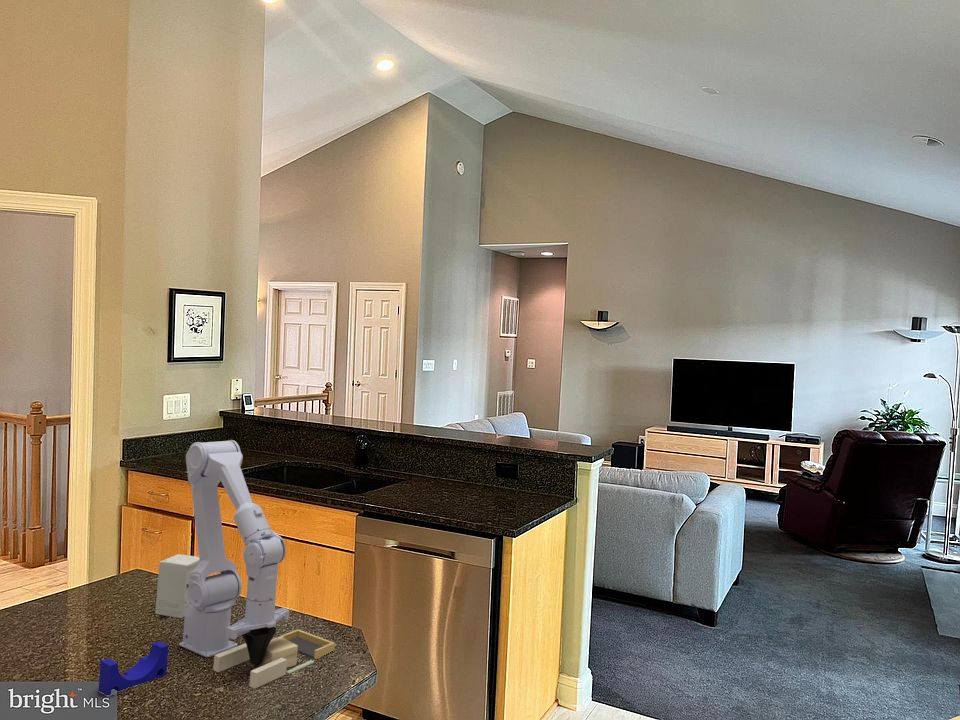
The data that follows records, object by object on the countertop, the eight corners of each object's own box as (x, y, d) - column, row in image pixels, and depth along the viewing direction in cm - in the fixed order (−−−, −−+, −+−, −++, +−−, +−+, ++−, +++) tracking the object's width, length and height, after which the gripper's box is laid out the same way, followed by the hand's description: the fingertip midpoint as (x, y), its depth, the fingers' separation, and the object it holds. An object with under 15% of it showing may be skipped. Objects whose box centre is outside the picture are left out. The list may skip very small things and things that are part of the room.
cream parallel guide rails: (213, 670, 145) (214, 655, 145) (244, 657, 152) (246, 643, 152) (254, 688, 139) (256, 673, 138) (285, 674, 145) (287, 659, 145)
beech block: (254, 662, 149) (256, 643, 149) (279, 655, 154) (281, 636, 154) (271, 673, 145) (272, 653, 145) (296, 664, 150) (297, 645, 150)
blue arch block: (151, 669, 144) (154, 639, 144) (166, 675, 141) (168, 645, 141) (93, 690, 133) (95, 658, 133) (107, 698, 131) (110, 665, 131)
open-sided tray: (278, 644, 159) (279, 636, 159) (297, 637, 164) (297, 629, 164) (316, 659, 153) (316, 650, 153) (334, 651, 158) (334, 642, 158)
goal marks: (245, 655, 152) (245, 654, 152) (270, 645, 158) (270, 644, 158) (289, 674, 146) (289, 672, 146) (314, 662, 152) (314, 661, 152)
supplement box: (182, 619, 169) (186, 565, 169) (154, 614, 170) (158, 561, 170) (200, 608, 176) (204, 557, 176) (173, 604, 177) (177, 552, 177)
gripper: (246, 611, 138) (240, 681, 138) (301, 592, 150) (296, 657, 150) (221, 602, 142) (216, 670, 142) (277, 584, 154) (272, 647, 154)
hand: (255, 663), depth 146 cm, fingers closed
